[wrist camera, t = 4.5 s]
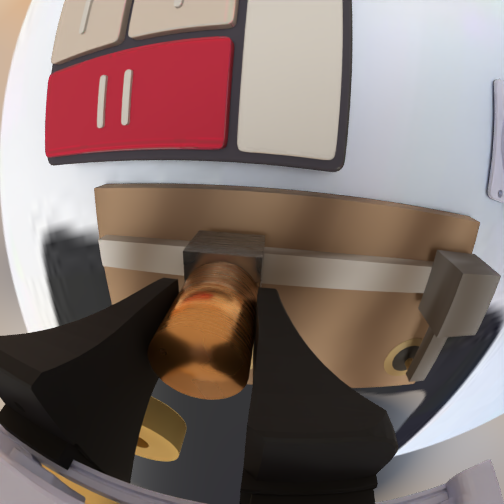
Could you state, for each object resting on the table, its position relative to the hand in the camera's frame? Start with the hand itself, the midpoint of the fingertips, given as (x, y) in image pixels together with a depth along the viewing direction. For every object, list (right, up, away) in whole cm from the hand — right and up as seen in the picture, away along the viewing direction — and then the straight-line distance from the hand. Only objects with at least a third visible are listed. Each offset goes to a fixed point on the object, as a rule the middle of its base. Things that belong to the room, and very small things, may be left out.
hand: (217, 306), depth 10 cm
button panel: (-2, +12, +2) cm, 12 cm away
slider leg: (0, -1, +4) cm, 5 cm away
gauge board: (+3, -1, +6) cm, 7 cm away
